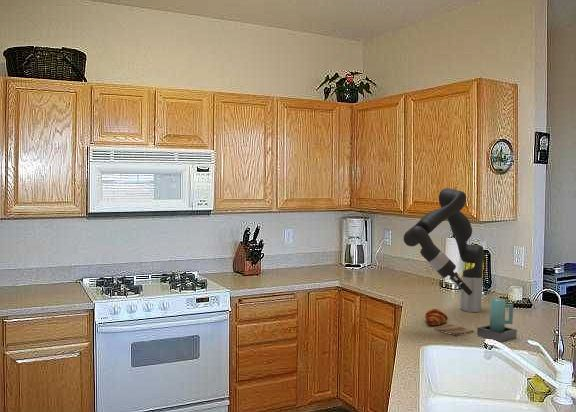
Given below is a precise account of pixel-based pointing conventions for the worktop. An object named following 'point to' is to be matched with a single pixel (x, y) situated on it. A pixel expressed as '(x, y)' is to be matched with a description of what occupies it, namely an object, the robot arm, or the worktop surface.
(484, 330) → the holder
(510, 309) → the jug
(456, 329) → the board
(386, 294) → the worktop surface
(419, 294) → the worktop surface
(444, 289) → the worktop surface
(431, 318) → the croissant
